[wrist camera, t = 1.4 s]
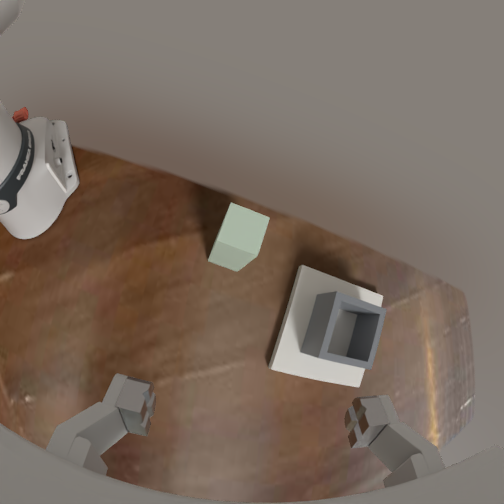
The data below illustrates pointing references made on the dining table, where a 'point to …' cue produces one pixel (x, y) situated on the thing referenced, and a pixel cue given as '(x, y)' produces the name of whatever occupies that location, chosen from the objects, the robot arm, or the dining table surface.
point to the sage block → (238, 238)
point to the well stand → (328, 329)
